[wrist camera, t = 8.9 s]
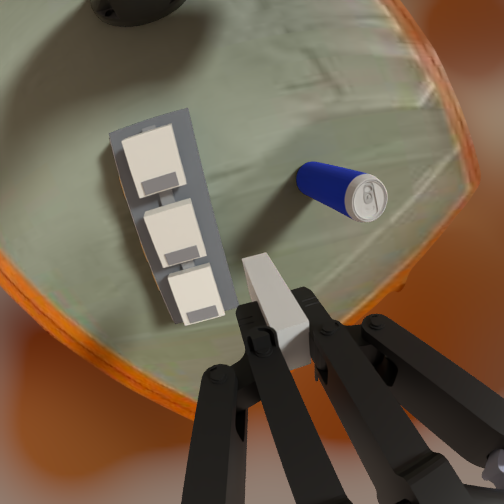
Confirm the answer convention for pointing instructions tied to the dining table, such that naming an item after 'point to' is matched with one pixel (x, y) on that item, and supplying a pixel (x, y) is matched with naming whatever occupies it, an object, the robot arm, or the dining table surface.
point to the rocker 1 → (154, 160)
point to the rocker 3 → (196, 294)
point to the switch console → (191, 189)
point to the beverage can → (343, 190)
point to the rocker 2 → (175, 233)
